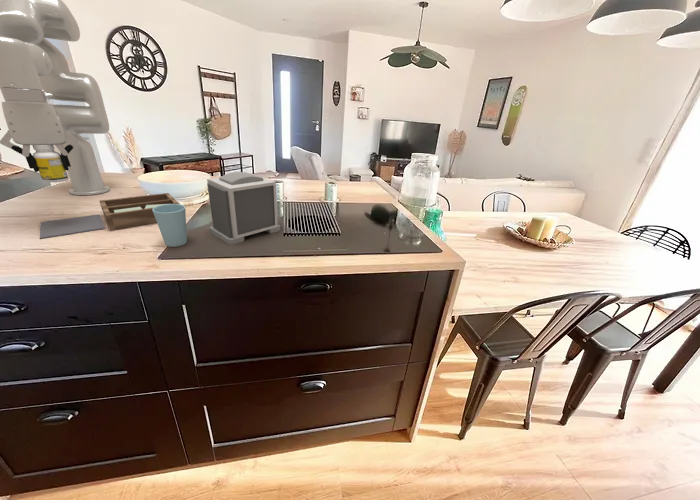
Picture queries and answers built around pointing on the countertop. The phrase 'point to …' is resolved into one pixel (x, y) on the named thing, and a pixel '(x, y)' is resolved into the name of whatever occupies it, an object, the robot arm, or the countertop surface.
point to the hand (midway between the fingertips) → (52, 169)
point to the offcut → (127, 209)
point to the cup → (172, 223)
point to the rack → (135, 216)
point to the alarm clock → (242, 206)
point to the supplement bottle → (49, 164)
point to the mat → (70, 226)
